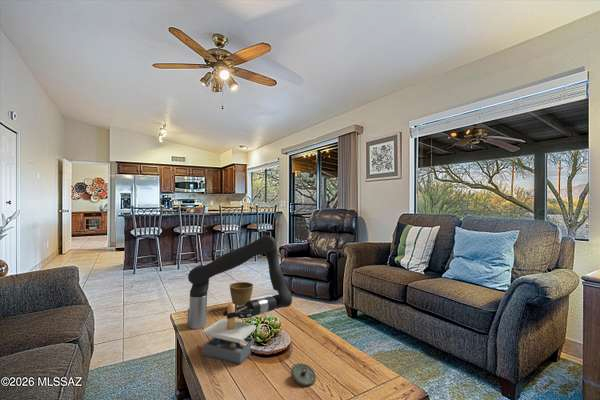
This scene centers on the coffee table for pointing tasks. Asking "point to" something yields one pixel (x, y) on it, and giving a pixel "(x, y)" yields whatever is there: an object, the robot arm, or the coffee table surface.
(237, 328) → the tub lid
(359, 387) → the coffee table surface
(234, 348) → the parts tub
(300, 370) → the lid
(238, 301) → the plant pot
